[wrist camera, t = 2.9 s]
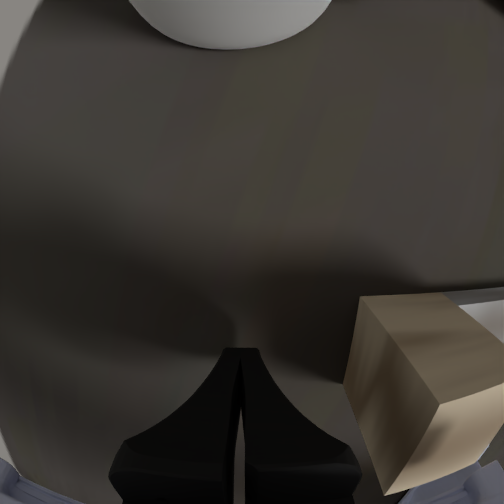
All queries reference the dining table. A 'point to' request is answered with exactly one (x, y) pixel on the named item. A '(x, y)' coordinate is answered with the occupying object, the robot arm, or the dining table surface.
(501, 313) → the beige piece
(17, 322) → the dining table surface
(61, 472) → the dining table surface
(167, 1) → the mug
